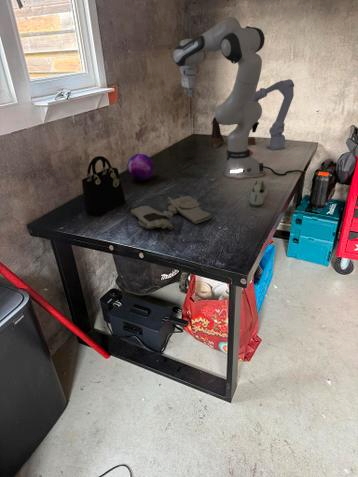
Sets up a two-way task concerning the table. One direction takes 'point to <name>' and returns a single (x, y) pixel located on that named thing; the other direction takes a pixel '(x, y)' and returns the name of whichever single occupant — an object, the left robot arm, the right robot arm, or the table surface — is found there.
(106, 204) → the handbag
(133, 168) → the decorative orb
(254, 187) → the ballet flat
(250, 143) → the brick
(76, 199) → the table surface
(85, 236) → the table surface
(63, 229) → the table surface
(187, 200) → the pair of gloves
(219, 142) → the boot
